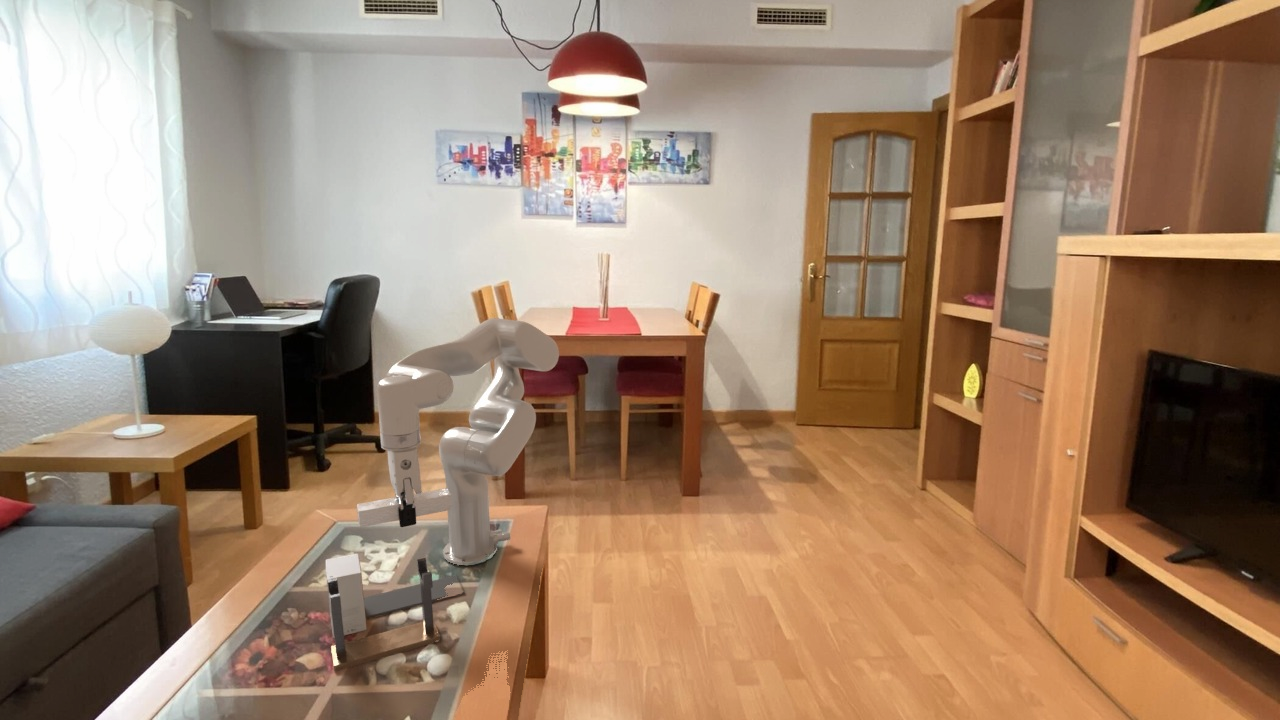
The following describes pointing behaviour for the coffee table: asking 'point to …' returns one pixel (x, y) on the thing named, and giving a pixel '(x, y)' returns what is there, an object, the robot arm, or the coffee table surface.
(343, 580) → the small box
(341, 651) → the rack
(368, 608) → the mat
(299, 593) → the coffee table surface
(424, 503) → the rail
